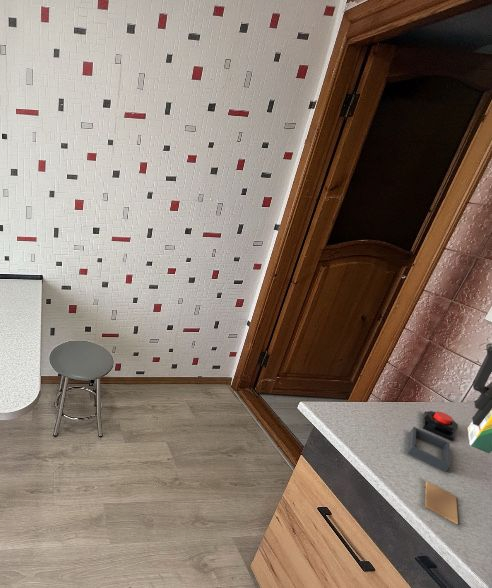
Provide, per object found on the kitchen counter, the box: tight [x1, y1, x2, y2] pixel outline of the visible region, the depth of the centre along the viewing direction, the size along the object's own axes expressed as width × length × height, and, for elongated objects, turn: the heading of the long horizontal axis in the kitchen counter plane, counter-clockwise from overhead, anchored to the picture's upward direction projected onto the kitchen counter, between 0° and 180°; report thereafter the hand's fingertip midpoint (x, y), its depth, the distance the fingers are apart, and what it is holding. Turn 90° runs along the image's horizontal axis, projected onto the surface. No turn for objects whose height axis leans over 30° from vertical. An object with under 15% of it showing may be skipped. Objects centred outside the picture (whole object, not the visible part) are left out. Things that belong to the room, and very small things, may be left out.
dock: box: [407, 426, 452, 473], centre depth 88 cm, size 7×11×2 cm
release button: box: [433, 411, 454, 425], centre depth 96 cm, size 4×4×2 cm
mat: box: [424, 480, 459, 525], centre depth 74 cm, size 5×9×1 cm, turn 135°
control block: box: [422, 410, 459, 442], centre depth 96 cm, size 9×6×3 cm
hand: (488, 427), depth 69 cm, fingers closed on crayon box, 3 cm apart
